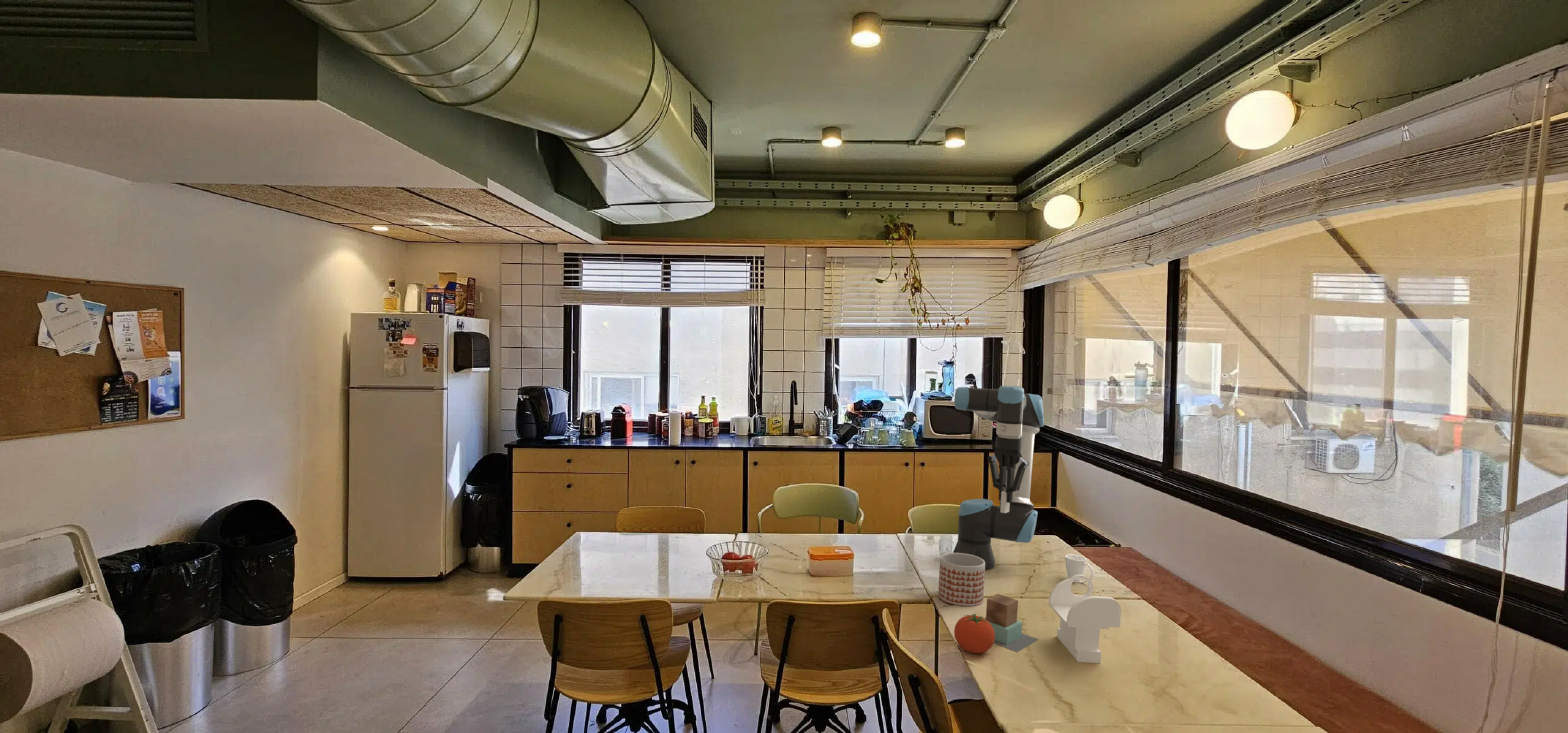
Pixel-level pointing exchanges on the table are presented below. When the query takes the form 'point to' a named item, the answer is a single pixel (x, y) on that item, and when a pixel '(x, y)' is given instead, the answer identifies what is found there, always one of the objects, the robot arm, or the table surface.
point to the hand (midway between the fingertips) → (1004, 511)
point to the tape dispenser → (1083, 618)
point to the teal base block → (1007, 632)
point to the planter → (961, 579)
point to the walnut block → (1001, 610)
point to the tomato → (974, 634)
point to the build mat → (1018, 643)
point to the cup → (1076, 566)
